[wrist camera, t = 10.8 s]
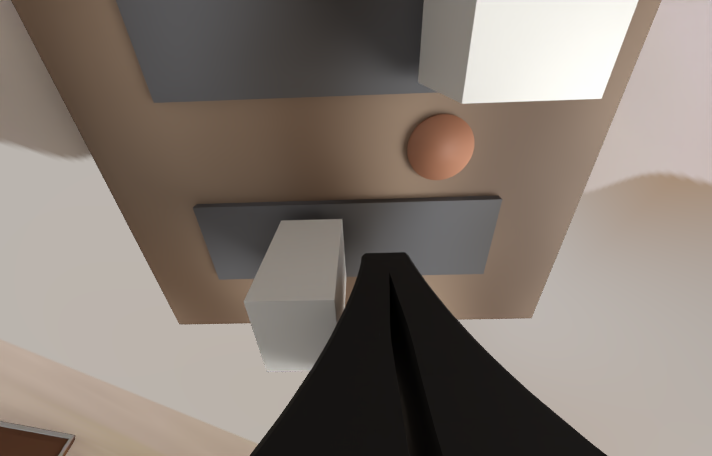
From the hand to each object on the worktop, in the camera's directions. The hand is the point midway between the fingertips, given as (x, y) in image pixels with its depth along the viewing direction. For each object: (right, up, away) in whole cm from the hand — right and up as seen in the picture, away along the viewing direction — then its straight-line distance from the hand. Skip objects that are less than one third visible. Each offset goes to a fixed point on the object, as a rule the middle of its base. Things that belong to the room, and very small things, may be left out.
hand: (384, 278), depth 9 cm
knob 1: (-2, +1, +1) cm, 3 cm away
